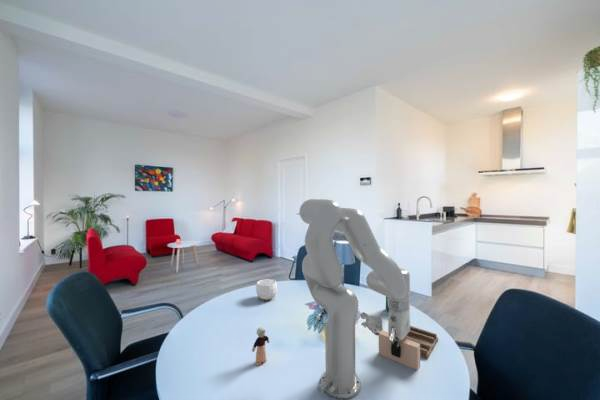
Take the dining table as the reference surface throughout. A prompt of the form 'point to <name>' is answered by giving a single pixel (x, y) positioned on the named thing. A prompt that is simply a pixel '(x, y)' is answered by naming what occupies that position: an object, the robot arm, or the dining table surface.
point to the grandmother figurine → (260, 346)
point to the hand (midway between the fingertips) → (398, 351)
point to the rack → (423, 340)
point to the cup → (266, 289)
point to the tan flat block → (408, 350)
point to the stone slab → (372, 323)
